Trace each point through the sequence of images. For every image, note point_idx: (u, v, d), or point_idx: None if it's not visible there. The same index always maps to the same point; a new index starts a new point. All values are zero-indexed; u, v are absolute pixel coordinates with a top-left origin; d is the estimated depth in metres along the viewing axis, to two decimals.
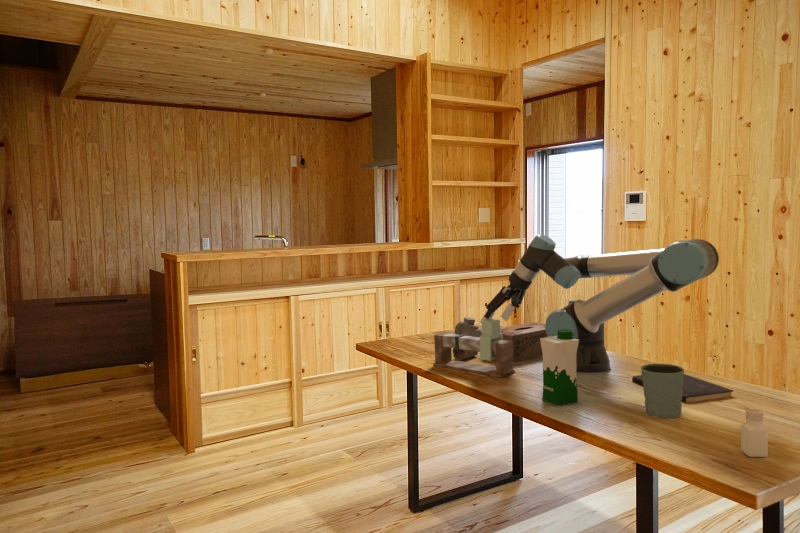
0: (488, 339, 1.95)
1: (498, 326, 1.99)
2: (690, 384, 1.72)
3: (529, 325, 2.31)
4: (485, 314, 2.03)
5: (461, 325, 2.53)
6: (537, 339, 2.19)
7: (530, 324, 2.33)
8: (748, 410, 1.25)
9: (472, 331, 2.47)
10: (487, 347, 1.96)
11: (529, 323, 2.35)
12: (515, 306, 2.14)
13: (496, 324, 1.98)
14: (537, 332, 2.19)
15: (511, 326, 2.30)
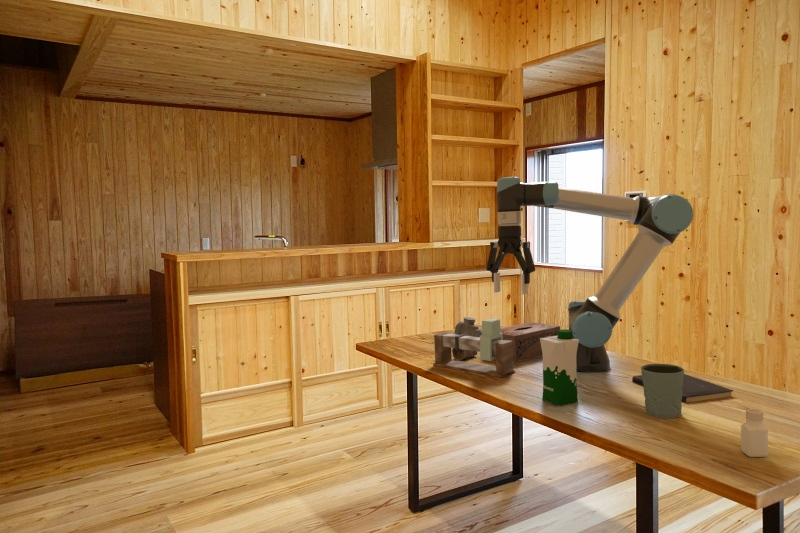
0: (488, 339, 1.95)
1: (498, 326, 1.99)
2: (690, 384, 1.72)
3: (528, 325, 2.31)
4: (527, 280, 1.88)
5: (461, 325, 2.53)
6: (538, 339, 2.20)
7: (529, 324, 2.33)
8: (748, 410, 1.25)
9: (472, 331, 2.47)
10: (487, 347, 1.96)
11: (527, 323, 2.35)
12: None
13: (496, 324, 1.98)
14: (538, 332, 2.19)
15: (510, 326, 2.30)
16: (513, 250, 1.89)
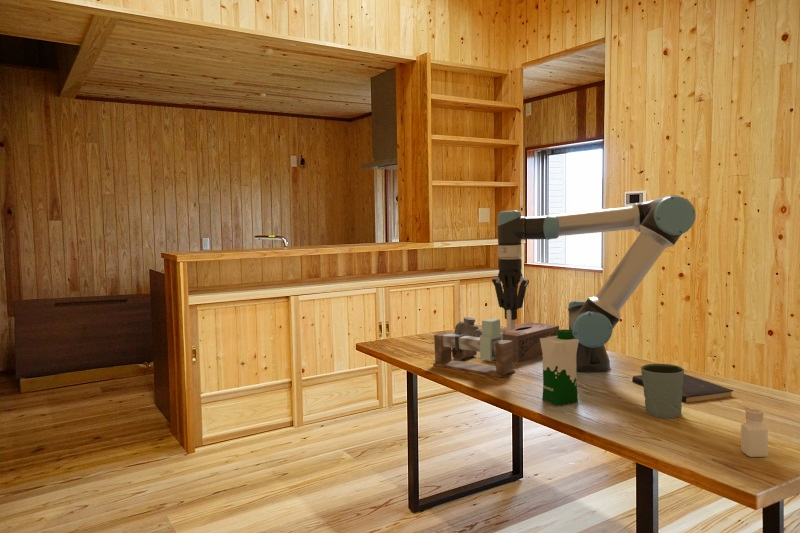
0: (488, 339, 1.95)
1: (498, 326, 1.99)
2: (690, 384, 1.72)
3: (527, 325, 2.31)
4: (514, 316, 1.92)
5: (461, 325, 2.53)
6: (539, 339, 2.20)
7: (527, 324, 2.34)
8: (748, 410, 1.25)
9: (472, 331, 2.47)
10: (487, 347, 1.96)
11: (525, 323, 2.36)
12: None
13: (496, 324, 1.98)
14: (539, 332, 2.20)
15: None
16: (511, 284, 1.90)
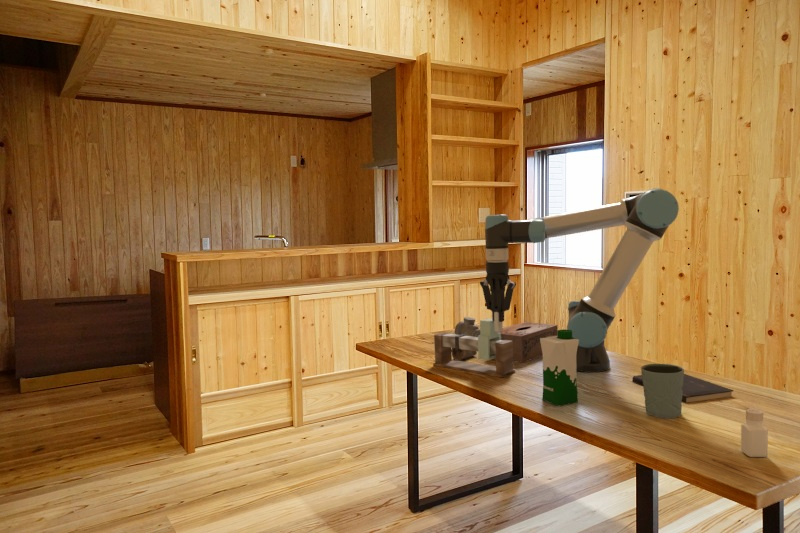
0: (486, 339, 1.96)
1: None
2: (690, 384, 1.72)
3: (525, 325, 2.32)
4: (502, 318, 1.95)
5: (461, 325, 2.53)
6: None
7: (525, 324, 2.34)
8: (748, 410, 1.25)
9: (472, 331, 2.47)
10: (485, 347, 1.96)
11: (523, 323, 2.36)
12: None
13: None
14: (540, 331, 2.20)
15: (509, 327, 2.29)
16: (498, 287, 1.94)
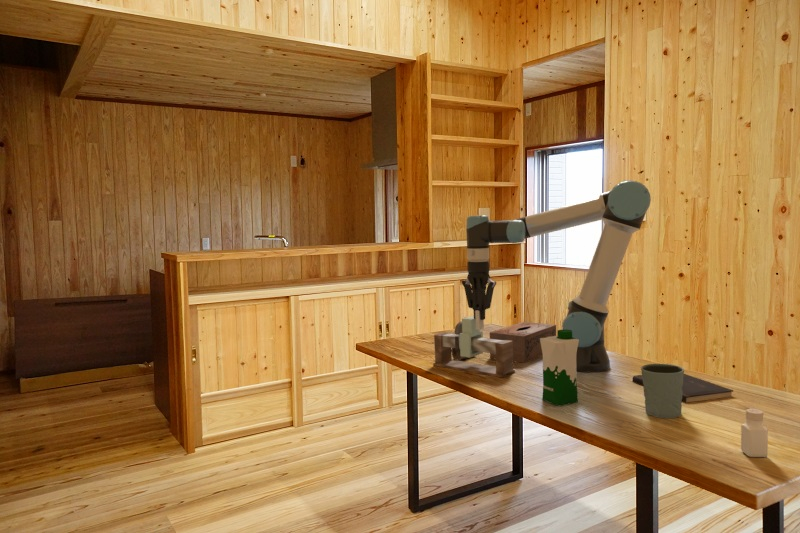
0: (468, 336, 2.01)
1: None
2: (690, 384, 1.72)
3: (524, 325, 2.32)
4: (483, 316, 2.00)
5: (461, 325, 2.53)
6: None
7: (523, 324, 2.34)
8: (748, 410, 1.25)
9: None
10: (467, 345, 2.01)
11: (521, 323, 2.36)
12: None
13: None
14: (540, 331, 2.20)
15: (508, 327, 2.29)
16: (479, 286, 1.99)
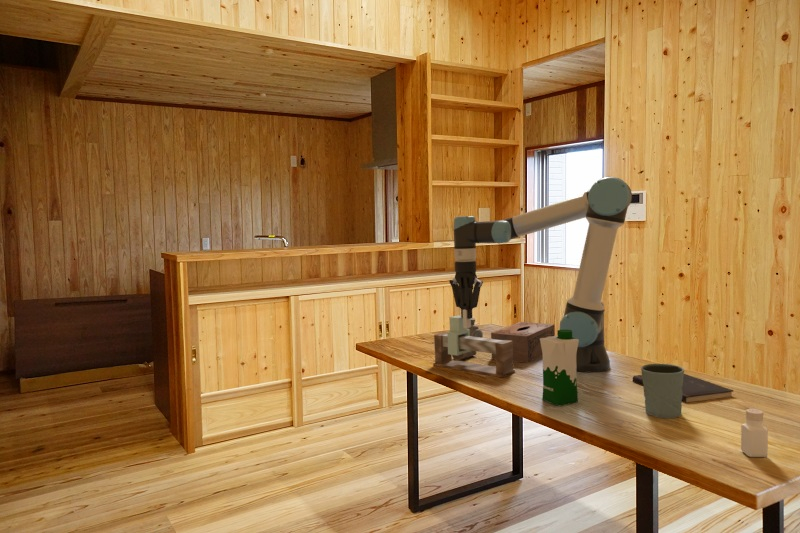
0: (455, 335, 2.04)
1: None
2: (690, 384, 1.72)
3: (523, 325, 2.32)
4: (470, 315, 2.04)
5: None
6: None
7: (522, 324, 2.34)
8: (748, 410, 1.25)
9: (472, 331, 2.47)
10: (454, 343, 2.05)
11: (519, 323, 2.36)
12: None
13: None
14: (541, 331, 2.21)
15: (508, 327, 2.29)
16: (466, 285, 2.02)
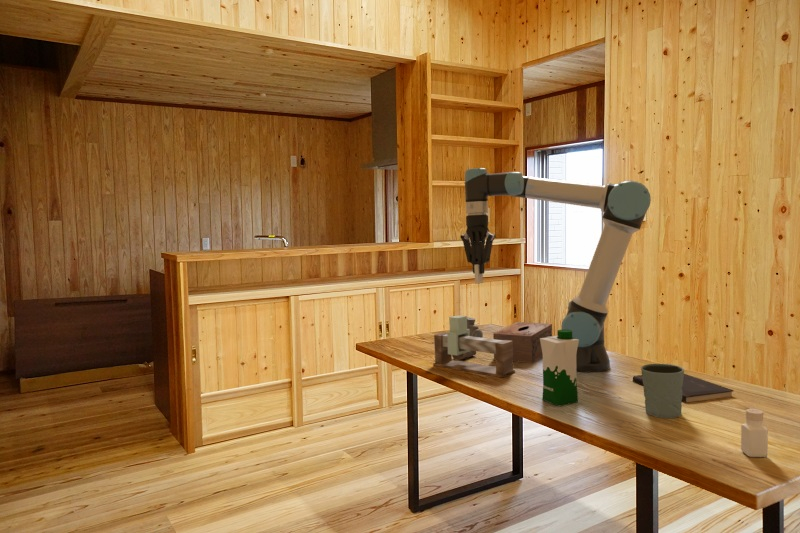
0: (455, 335, 2.05)
1: (465, 322, 2.08)
2: (690, 384, 1.72)
3: (521, 325, 2.32)
4: (482, 270, 1.99)
5: None
6: None
7: (520, 324, 2.34)
8: (748, 410, 1.25)
9: (472, 331, 2.47)
10: (454, 343, 2.05)
11: (516, 323, 2.36)
12: None
13: (463, 320, 2.07)
14: (542, 331, 2.21)
15: (507, 327, 2.28)
16: (478, 239, 1.98)
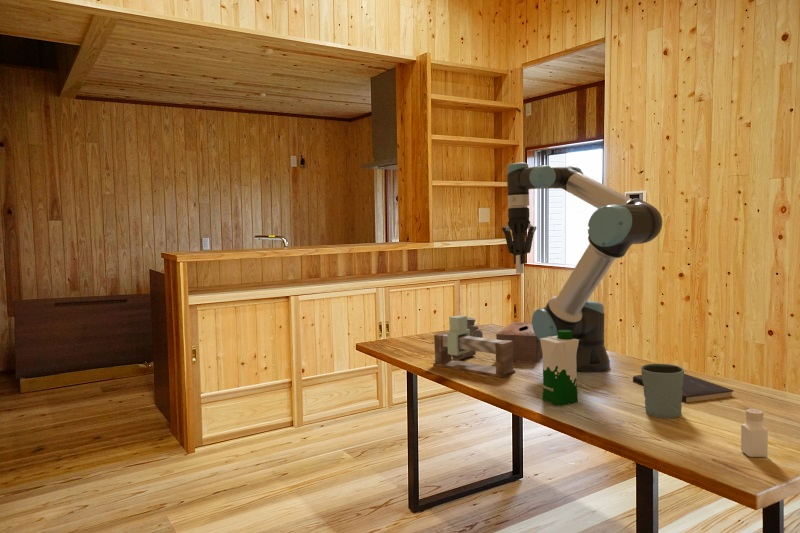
0: (455, 335, 2.05)
1: (465, 322, 2.08)
2: (690, 384, 1.72)
3: (519, 325, 2.32)
4: (523, 261, 2.08)
5: None
6: None
7: (517, 324, 2.34)
8: (748, 410, 1.25)
9: (472, 331, 2.47)
10: (454, 343, 2.05)
11: (513, 323, 2.36)
12: None
13: (463, 320, 2.07)
14: None
15: (507, 327, 2.27)
16: (519, 231, 2.07)
